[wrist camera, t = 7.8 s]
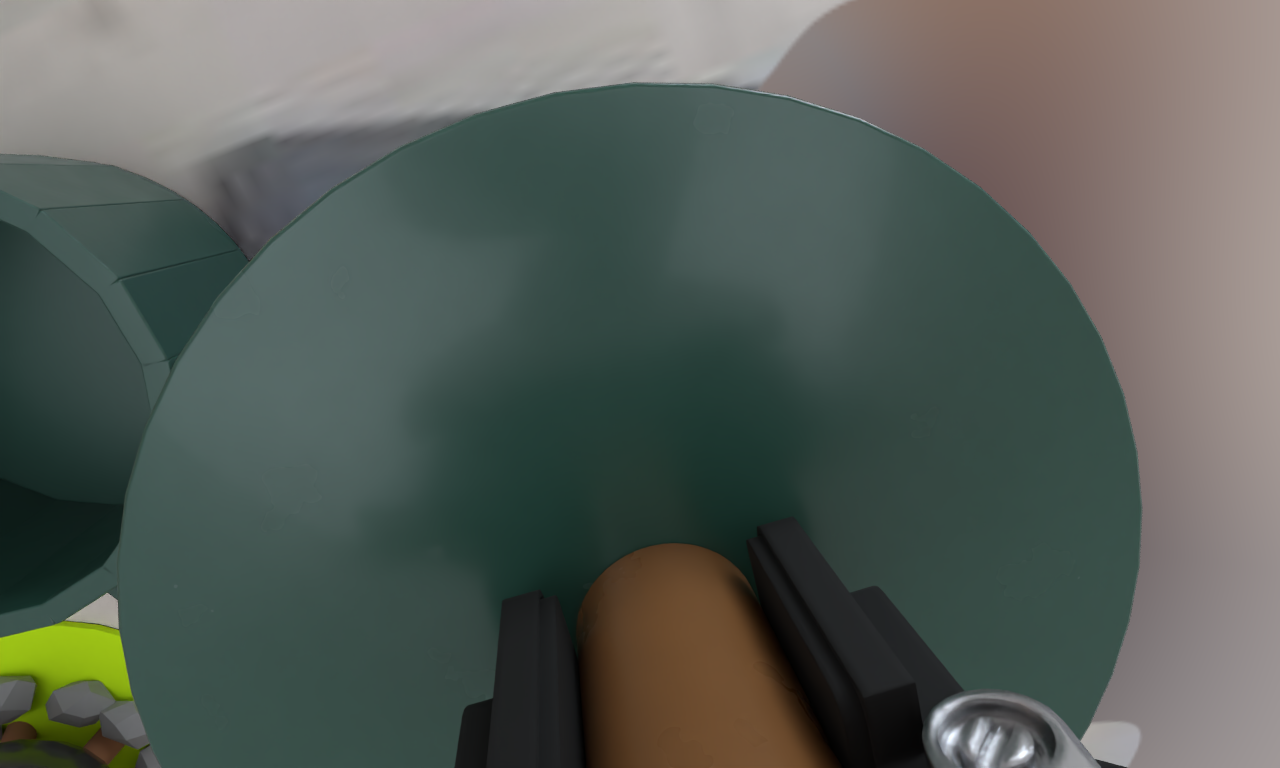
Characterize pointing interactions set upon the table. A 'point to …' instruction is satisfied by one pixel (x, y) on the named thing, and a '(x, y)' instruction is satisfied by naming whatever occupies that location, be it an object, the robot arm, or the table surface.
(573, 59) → the table surface
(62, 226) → the pot
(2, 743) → the toy cauldron
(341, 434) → the lid
